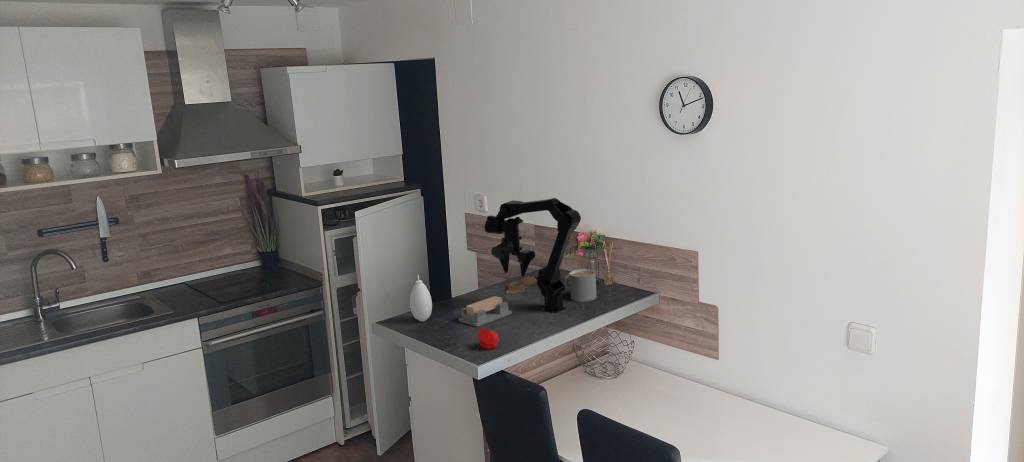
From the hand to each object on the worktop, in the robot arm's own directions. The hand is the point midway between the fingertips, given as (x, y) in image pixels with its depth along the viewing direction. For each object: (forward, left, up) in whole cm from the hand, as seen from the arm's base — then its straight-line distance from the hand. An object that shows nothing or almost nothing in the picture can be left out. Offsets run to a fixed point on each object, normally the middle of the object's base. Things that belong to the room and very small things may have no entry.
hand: (514, 274), depth 279 cm
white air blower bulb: (+16, +33, -12) cm, 39 cm away
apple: (-24, +36, -12) cm, 45 cm away
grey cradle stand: (-1, +17, -12) cm, 21 cm away
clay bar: (-1, +17, -9) cm, 19 cm away
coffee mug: (-14, -21, -12) cm, 28 cm away
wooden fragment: (+18, -20, -13) cm, 30 cm away
